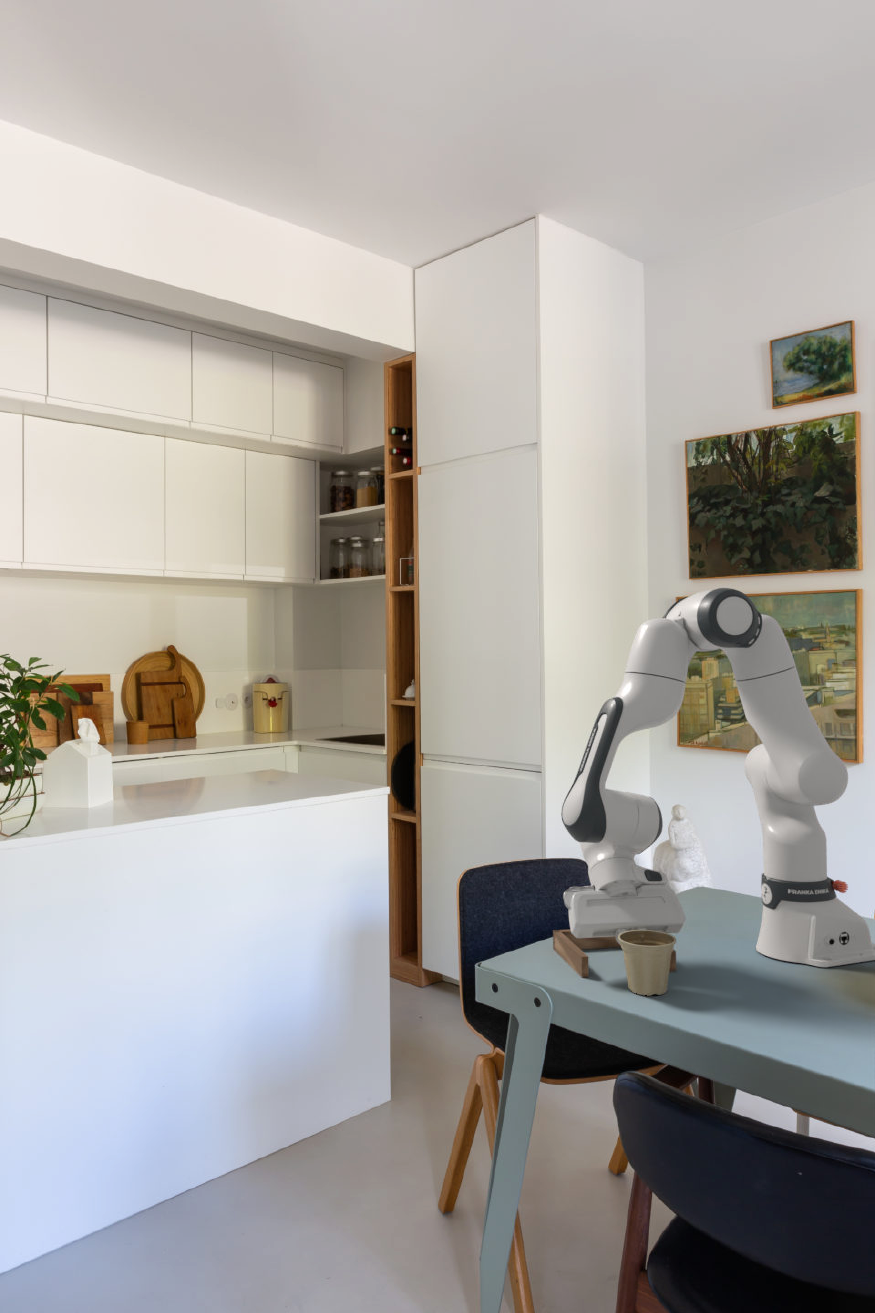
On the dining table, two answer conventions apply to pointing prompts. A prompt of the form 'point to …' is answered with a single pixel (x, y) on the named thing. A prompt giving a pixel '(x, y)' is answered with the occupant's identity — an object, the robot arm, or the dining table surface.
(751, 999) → the dining table surface
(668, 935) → the flower pot
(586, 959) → the wooden u-shaped frame
